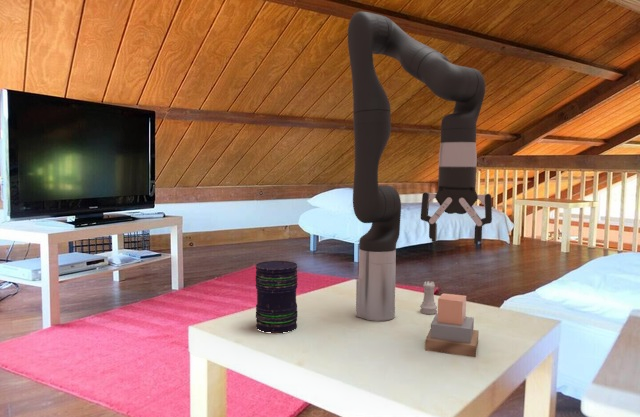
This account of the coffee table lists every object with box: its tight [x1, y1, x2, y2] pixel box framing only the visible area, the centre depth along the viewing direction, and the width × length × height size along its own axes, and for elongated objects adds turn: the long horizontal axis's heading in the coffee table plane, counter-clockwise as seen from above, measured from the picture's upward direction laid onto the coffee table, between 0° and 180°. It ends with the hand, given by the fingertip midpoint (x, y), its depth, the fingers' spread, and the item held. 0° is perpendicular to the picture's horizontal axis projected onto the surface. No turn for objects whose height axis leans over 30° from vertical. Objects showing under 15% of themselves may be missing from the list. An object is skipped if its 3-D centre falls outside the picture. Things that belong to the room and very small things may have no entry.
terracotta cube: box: [437, 293, 467, 325], centre depth 103 cm, size 5×5×5 cm
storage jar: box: [255, 260, 299, 334], centre depth 114 cm, size 10×10×15 cm
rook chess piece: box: [419, 280, 438, 315], centre depth 126 cm, size 4×4×8 cm
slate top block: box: [429, 313, 475, 343], centre depth 103 cm, size 8×8×3 cm
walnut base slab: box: [424, 328, 479, 358], centre depth 103 cm, size 10×10×3 cm
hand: (455, 242), depth 101 cm, fingers open, 8 cm apart
